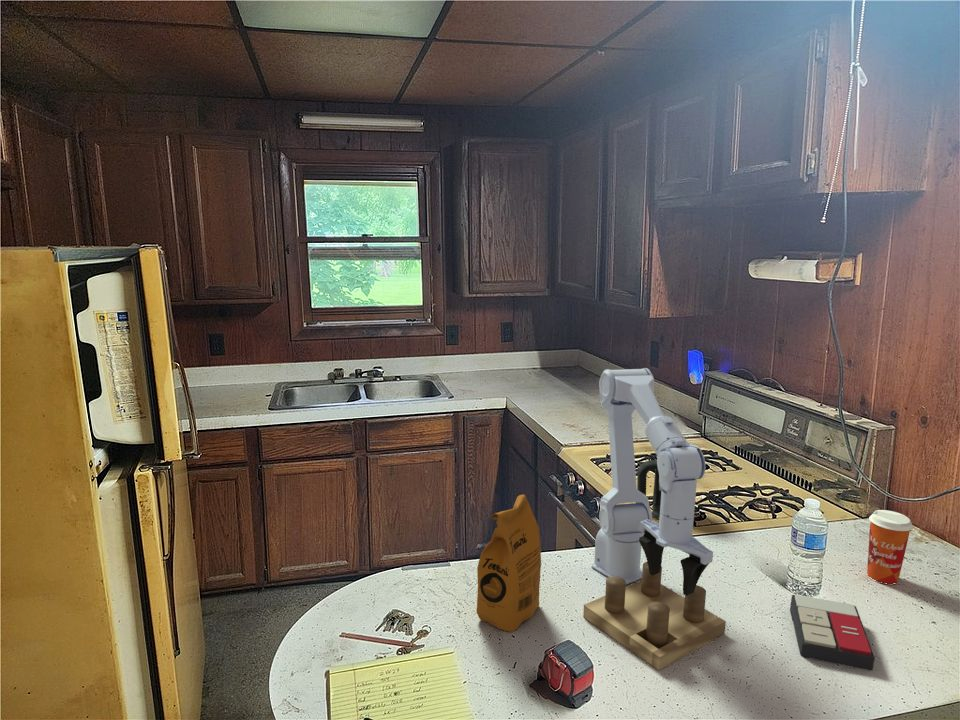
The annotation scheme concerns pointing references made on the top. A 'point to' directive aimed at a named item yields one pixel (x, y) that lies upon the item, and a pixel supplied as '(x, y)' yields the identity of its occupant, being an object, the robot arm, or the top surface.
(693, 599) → the wooden peg board
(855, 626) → the calculator
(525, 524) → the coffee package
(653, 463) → the milk frother
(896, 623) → the top surface
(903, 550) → the paper cup
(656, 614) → the loose leg
